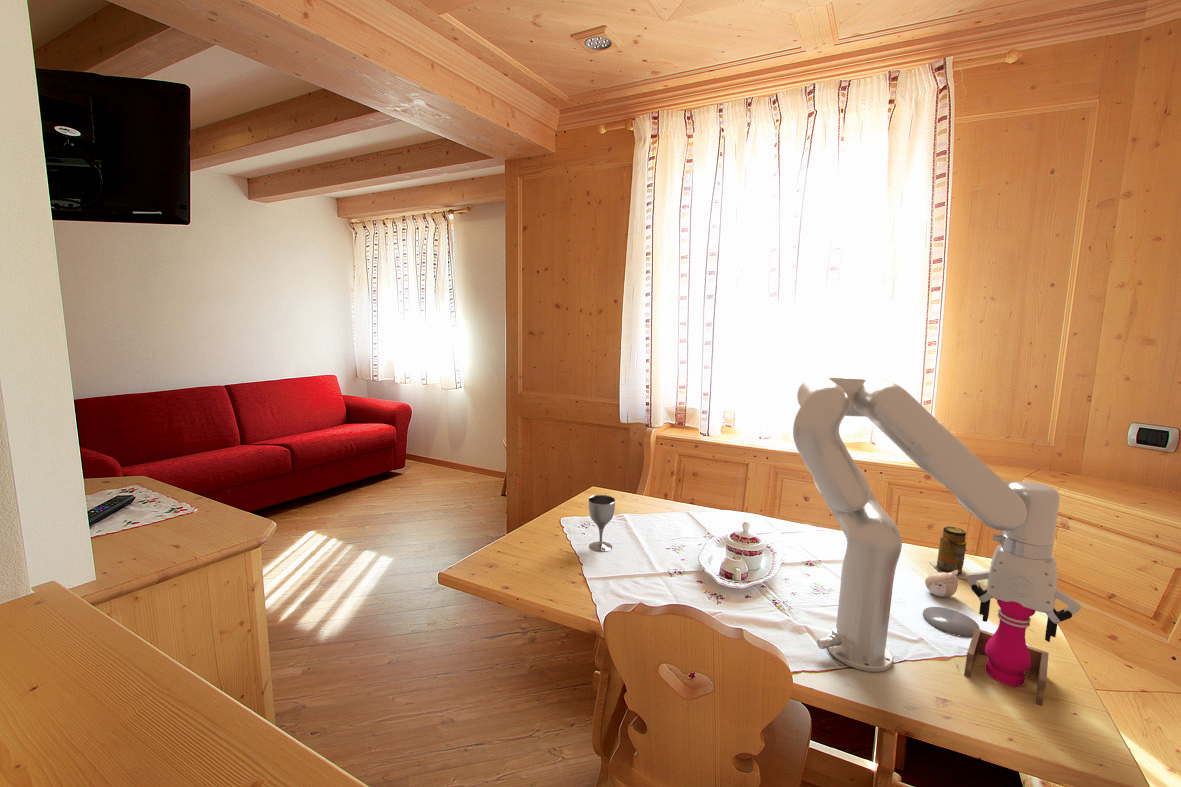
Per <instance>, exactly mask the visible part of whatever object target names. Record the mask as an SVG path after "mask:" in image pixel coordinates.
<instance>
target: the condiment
mask: <svg viewBox="0 0 1181 787" xmlns="http://www.w3.org/2000/svg"><path fill="white" fill-rule="evenodd" d="M966 535H967V533H966V531H965V530H964V529H961V528H959V527H956V526H949V525H948V526H944V527H943V531H942V535H941V536H940V539H939V540H940V541H939V546H938V554H937V560H936V562H935V561H929V564H931V565H932V567H934V568H935V570H937V572H940V573H942V572H945V573H950V572H952V571H955V570H958V573H957V575H956V577H957V578H958V579H966V580H967V578H966V576H967V574H968V573H967V572H965V571H964V570H963V568H964V567H963V566H964V561H965V556H966V551H967V550H966V549H967V541H966V539H967V538H966Z"/></svg>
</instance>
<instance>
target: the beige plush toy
mask: <svg viewBox="0 0 1181 787" xmlns="http://www.w3.org/2000/svg"><path fill="white" fill-rule="evenodd" d="M957 573H958V570H955V571H952V572H950V573H945V572H942V573H940V572H939V571H937V572H933V573H931V574H929V575H928V576H927V577H926V578H925V580H924V581H925V582H924V585H925V587H926V589H927V590H928V591H929V592H930V593H932V594H933V595H934V596H936V597H940V598H946V597H952V596H954V595H955V594H956V593H957V591H958V585H959V584H958V583H959V578H957V577H956V575H957Z"/></svg>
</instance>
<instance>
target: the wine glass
mask: <svg viewBox="0 0 1181 787" xmlns="http://www.w3.org/2000/svg"><path fill="white" fill-rule="evenodd" d="M615 510H616V499H615V498H614V497H613V496H610V495H606V494H597V495H595V494H594V495H591V496H590V497H588V513H589V517H590V519H591V520H592V522H593V523H594V524H595V525H596V526H597V528H598V535H599V541H593V542H591V543H590V544H589V546H588V548H589V550H590V551H593V552H597V553H607V552H610V551H611V550H612V549H613V545H612V544H611V543H609V542H606V541H603V532H604V529H605V527H606V526H607V525H608V524H609V523H610V522H611V520H612V519H613V517H614V514H615Z"/></svg>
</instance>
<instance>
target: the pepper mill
mask: <svg viewBox="0 0 1181 787" xmlns="http://www.w3.org/2000/svg"><path fill="white" fill-rule="evenodd" d="M996 603H997V605H998V607H999V608H998V610H997V611H998V613H997V617H998V619H999V623H998V627H997V629H996V631H995V632H994V633H993V634H994V635H993V636H992V637H991V638H990V639H989V640H988V642H987V644H986V647H985V654H986V656H985V657H986V658H987V659H986V661H985V667H984V669H985V672H986V674H987V675H988V676H989V677H990V678H991V679H994V680H995V681H997V682H999V683H1002V684H1004V685H1007V686H1011V687H1021V686H1023V685H1024V684H1025V681H1026V676H1027V675H1026V672H1027V670H1029V668H1030V667H1031V657H1030V653H1029V650H1028V648H1027V646H1028V644H1027V641H1026V631H1027V628H1029V627H1030V626H1031V622H1032V621H1031V620H1032V619H1031V617H1033V616H1034V614H1035V613H1036V611H1035V610H1031V609H1028V608H1026V607H1023V606H1022V605H1021V604H1020V603H1018V602H1014V601H1009V602H1005V601H1000V600H997V599H996Z"/></svg>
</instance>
